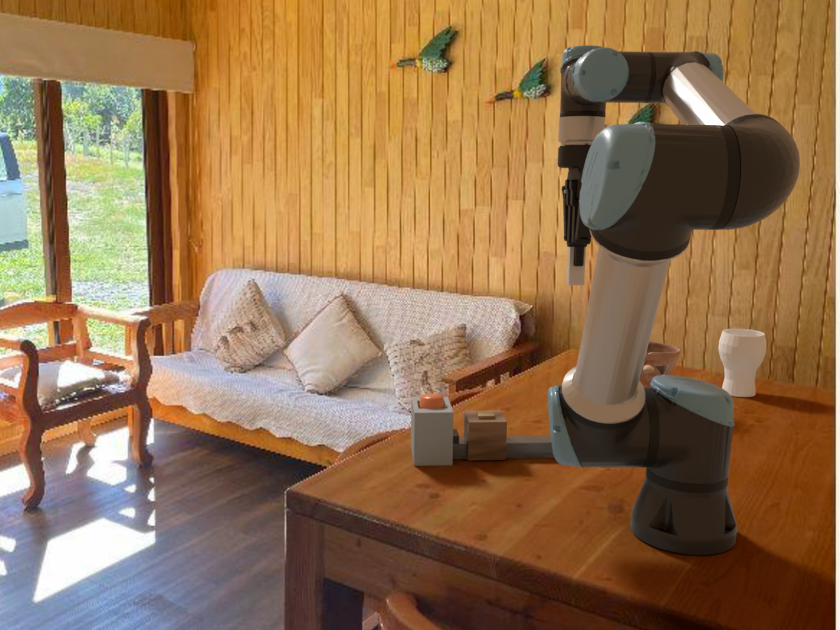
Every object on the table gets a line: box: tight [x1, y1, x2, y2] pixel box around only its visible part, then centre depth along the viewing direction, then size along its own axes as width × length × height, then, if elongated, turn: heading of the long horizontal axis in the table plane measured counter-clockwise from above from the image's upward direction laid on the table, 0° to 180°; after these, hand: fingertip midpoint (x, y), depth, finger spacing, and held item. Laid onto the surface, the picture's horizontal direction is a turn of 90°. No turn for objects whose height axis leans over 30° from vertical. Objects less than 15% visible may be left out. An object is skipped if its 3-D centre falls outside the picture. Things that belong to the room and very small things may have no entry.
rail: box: [453, 428, 555, 460], centre depth 154 cm, size 4×24×4 cm, turn 94°
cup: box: [718, 328, 767, 398], centre depth 197 cm, size 11×11×15 cm
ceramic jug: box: [639, 340, 681, 388], centre depth 185 cm, size 18×14×14 cm
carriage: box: [463, 410, 508, 461], centre depth 153 cm, size 7×7×8 cm
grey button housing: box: [410, 396, 454, 467], centre depth 153 cm, size 10×7×10 cm
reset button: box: [419, 392, 445, 409], centre depth 152 cm, size 4×4×6 cm
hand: (575, 284), depth 140 cm, fingers closed
